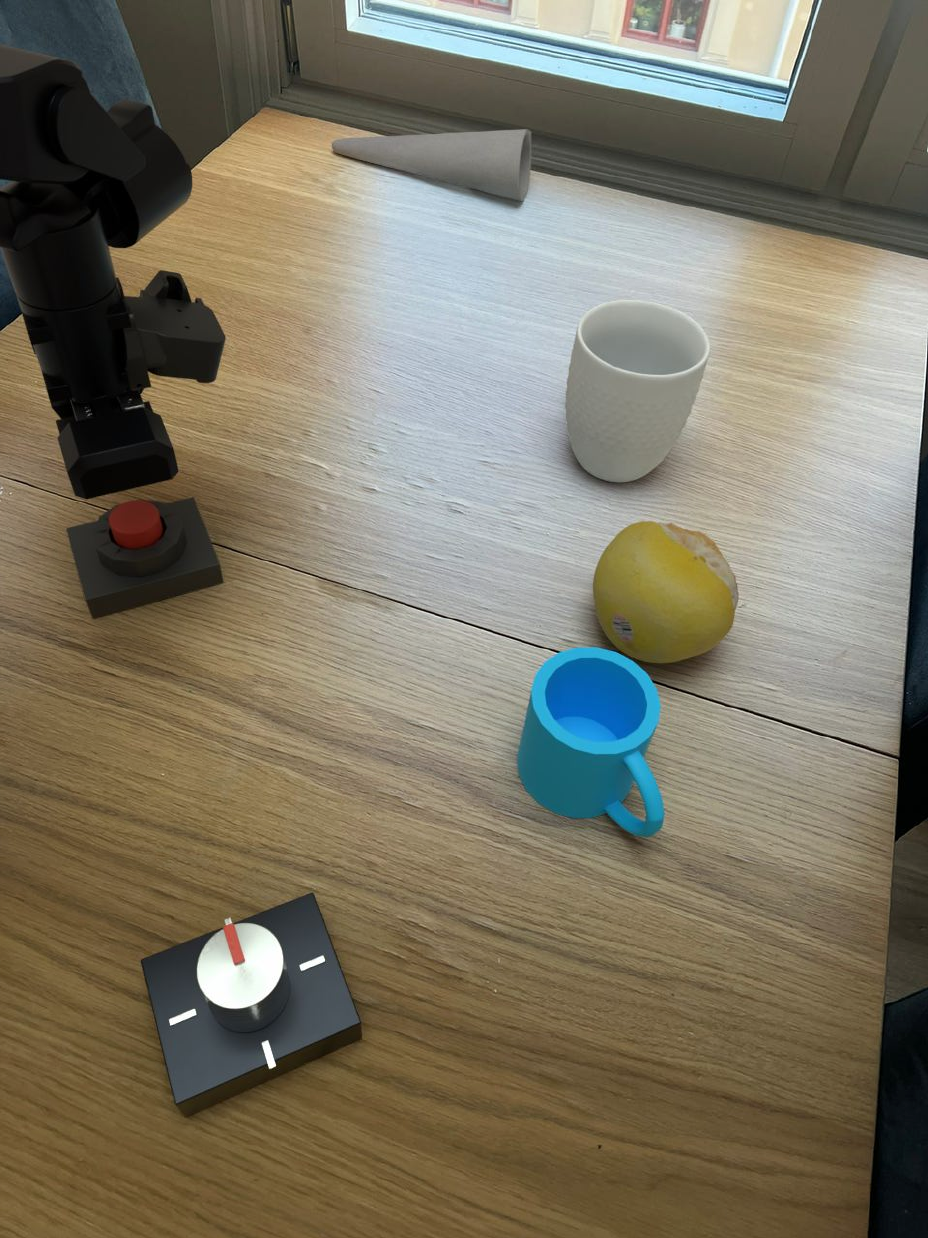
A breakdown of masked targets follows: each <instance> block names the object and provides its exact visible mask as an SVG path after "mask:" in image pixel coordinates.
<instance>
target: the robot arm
mask: <svg viewBox="0 0 928 1238" xmlns="http://www.w3.org/2000/svg"><path fill="white" fill-rule="evenodd" d="M0 180H3V181H10V182H8V183H6V184H5V185H4V186H2V187H0V251H1V254H2V258H3V261H4V263H5V266H6V269H7V272H8V275H9V278H10V280H11V284H12V287H13V290H14V293H15V296H16V299H17V301H18V305H19V308H20V311H21V314H22V319H23V323H24V325H25V329H26V333H27V337H28V339H29V342H30V346H31V348H32V351H33V353H34V355H35V356H36V358H37V362H38V365H39V368H40V371H41V374H42V378H43V381H44V385H45V389H46V393H47V396H48V400H49V403H50V407H51V408H52V410H53V411H54V412H55V414H56V415H57V416H58V417H59V419H56V420H55V424H56V429H57V431H58V436H57V437H56V439H57V442H58V446H59V449H60V452H61V453H60V454H61V456H62V460H63V463H64V466H65V467H64V468H65V470H66V473H67V476H68V480H69V482H70V486H71V488H72V491H73V494H74V497H78V498H81V499H83V500H90V499H95V498H100V497H104V496H109V495H112V494H116V493H120V492H124V491H125V492H126V491H129V490H134V489H137V488H138V489H139V488H142V487H146V486H150V485H155V484H160V483H164V482H167V481H171V480H174V478H175V477H176V476H177V475H178V473H179V472H180V471H179V466H178V461H177V456H176V452H175V448H174V446H173V443H172V441H171V438H170V436H169V433H168V430H167V428H166V425H165V422H164V420H163V417H162V416H161V415H160V414H159V413H156V412H154V410H153V407H152V405H151V402H150V401H149V400H146V401H144V399H143V396H142V395H141V394H143V392H144V390H145V389H148V388H152V384H151V379H150V375H149V374H151V375H154V376H158V377H165V378H174V379H175V378H176V379H185V380H193V381H194V380H195V381H196V382H197V383H200V384H211V383H214V382H215V381H216V380H217V377H218V372H219V368H220V364H221V360H222V356H223V351H224V348H225V344H226V340H227V337H226V334H225V332H224V330H223V328H222V326H221V325H220V322H219V320H218V318H217V316H216V314H215V312H214V311H213V310H212V308H211V307H209V306H207V305H205V303H204V301H203V300H202V299H203V298H201V297H195V299H194V301H192V298H191V295H190V292H189V289H188V286H187V284H186V282H185V280H184V278H183V276H182V274H181V273H180V272H175V271H168V270H162V269H160V270H158V271H157V273H156V274H155V275H154V276H153V277H152V279H151V280H150V281H149V283H148V284H147V285H146V286H145V288H144V289H140V291H139V296H130V295H125V292H124V288H123V285H122V282H121V281H120V277H117V275H116V271H115V267H114V263H113V258H112V255H111V254H112V253H111V251H110V248H113V249H128V248H131V247H133V246H135V245H136V244H138V242H140V241H141V240H142V239H143V238H145V236H148V234H150V233H151V232H152V231H153V230H154V229H156V228H157V227H158V226H160V225H161V224H162V223H163V222H164V221H165V220H166V219H168V218H170V217H171V215H173V214H174V213H175V212H177V211H178V210H180V208H182V207H183V206H184V205H185V204H186V203H187V202H188V201H189V199H190V198H191V194H192V190H193V173H192V168H191V166H190V165H189V163H188V162H187V161H186V158H185V156H184V154H183V152H182V151H181V150H180V148H179V145H177V143H176V142H175V141H174V139H172V138H171V136H170V135H169V134H168V133H167V132H166V131H164V129H162V128H161V127H160V126H158V125H156V122H155V117H154V110H153V107H152V106H151V105H150V104H146V103H142V102H138V101H134V100H129V99H126V98H122V99H120V100H118V101H117V102H115V103H113V104H112V105H111V106H110V107H109V109H107V111H106V110H105V108H104V107H103V106H102V104H100V103H99V101H98V100H97V99H96V98H95V97H94V96H93V94H92V93H91V91H90V87H89V85H88V83H87V80H86V79H85V78H84V76H83V71H82V69H81V67H80V66H79V65H78V64H76V63H75V62H74V61H72V60H68V59H64V58H59V57H56V56H52V55H51V56H50V55H47V54H42V53H38V52H36V51H35V52H34V51H30V50H27V49H22V48H17V47H13V46H9V45H5V44H1V43H0Z"/></svg>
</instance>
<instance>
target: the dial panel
mask: <svg viewBox="0 0 928 1238" xmlns="http://www.w3.org/2000/svg"><path fill="white" fill-rule="evenodd" d="M223 921H224V924H225V926H226V925H228V924H231V923H234V924H238V923H253V924H257V925H260V926H263V927H265V928H266V929H268V930H269V931H271V932H272V933H273V934H274V935H275V936H276V938H277V939H278V941H279V942H280V944H281V947H282V950H283V954H284V958H285V962H286V967H287V971H288V975H289V980H290V992H289V997H288V1000H287V1003H286V1005H285V1007H284V1009H283V1010H282V1012H281V1013H280V1015H279V1016H278V1017H277V1018H276V1019H275V1020H274V1021H273V1022H271V1023H270V1024H269V1025H267V1026H265V1027H263V1028H261V1029H259V1030H256V1031H252V1032H236V1031H232V1030H229V1029H227V1028H225V1027H223V1026H222V1025H221V1024H220V1023H219V1022H218V1021H217V1020H216V1019H215V1018H214V1017H213V1015H212V1013H211V1011H210V1009H209V1007H208V1005H207V1002H206V1000H205V998H204V996H203V994H202V992H201V990H200V987H199V985H198V981H197V975H196V969H197V962H198V958H199V955H200V953H201V951H202V949H203V947H204V946H205V944H206V943H207V942H208V940H209V939H210V938H211V937H212V936H213V935H215V934H216V933H217V932H219V931H220V930H222V929H223V927H220V928H217V929H215V930H212V931H210V932H208V933H205V934H202V935H200V936H197V937H194V938H192V939H190V940H187V941H185V942H182V943H179V944H176V945H173V946H172V947H171V946H170V947H169V948H167V949H164V950H161V951H159V952H157V953H153V954H151V955H148V956H146V957H143V958H141V959H140V964H141V968H142V972H143V973H142V974H143V978H144V981H145V985H146V990H147V993H148V994H147V995H148V998H149V1002H150V1007H151V1010H152V1014H153V1018H154V1023H155V1027H156V1031H157V1035H158V1039H159V1045H160V1047H161V1048H160V1049H161V1052H162V1056H163V1061H164V1064H165V1069H166V1072H167V1076H168V1082H169V1085H170V1089H171V1093H172V1098H173V1102H174V1105H175V1106H176V1108H177V1109H178V1110H179V1112H180V1113H181V1114H182V1116H183V1117H184V1118H188V1117H190V1116H193V1115H195V1114H197V1113H200V1112H203V1111H204V1110H206V1109H209V1108H210V1107H213V1106H215V1105H218V1104H219V1103H221V1102H224V1101H227V1100H229V1099H230V1098H233V1097H235V1096H237V1095H239V1094H242V1093H244V1092H246V1091H248V1090H251V1089H253V1088H255V1087H257V1086H259V1085H261V1084H264V1083H266V1082H268V1081H270V1080H273V1079H276V1078H277V1077H279V1076H281V1075H284V1074H286V1073H288V1072H290V1071H293V1070H295V1069H297V1068H300V1067H302V1066H304V1065H306V1064H308V1063H310V1062H312V1061H315V1060H317V1059H319V1058H321V1057H324V1056H326V1055H329V1054H330V1053H333V1052H335V1051H337V1050H339V1049H342V1048H344V1047H346V1046H348V1045H350V1044H351V1045H352V1043H353V1044H354V1043H355V1042H358V1041H359V1040H362V1038H363V1030H362V1021H361V1018H360V1014H359V1013H358V1010H357V1007H356V1004H355V1001H354V999H353V996H352V993H351V991H350V988H349V986H348V982H347V980H346V977H345V974H344V971H343V969H342V966H341V964H340V960H339V958H338V955H337V952H336V950H335V948H334V944H333V942H332V938H331V936H330V933H329V931H328V928H327V925H326V923H325V920H324V917H323V915H322V912H321V909H320V906H319V904H318V900H317V898H316V896H315V892H310V893H307V894H305V895H302V896H299V897H297V898H295V899H291V900H289V901H286V902H284V903H282V904H279V905H276V906H274V907H271V908H269V909H266V910H264V911H261V912H259V913H256V914H253V915H251V916H249V917H246V918H242V919H240V920H238V921H235V922H233V921H232V918H231V917H228V918H225V919H224V920H223Z"/></svg>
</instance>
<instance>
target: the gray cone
mask: <svg viewBox="0 0 928 1238" xmlns="http://www.w3.org/2000/svg"><path fill="white" fill-rule="evenodd" d="M331 149H332V151H333V152H334V153H336V154H339V155H342V156H346V157H349V158H352V159H356V160H360V161H364V162H366V163H371V164H375V165H377V166H378V165H379V166H383V167H386V168H391V169H394V170H398V171H402V172H407V173H409V174H410V173H411V174H414V175H418V176H422V177H425V178H430V179H433V180H436V181H441V182H445V183H449V184H452V185H457V186H460V187H465V188H468V189H473V190H477V191H480V192H483V193H484V192H485V193H488V194H490V195H495V196H498V197H503V198H507V199H511V200H515V201H519V202H523V201H525V199H526V197H527V196H526V195H527V192H528V189H529V182H530V176H531V169H532V131H531V130H529V129H528V128H527V129H526V128H525V129H524V128H522V129H502V130H501V129H500V130H488V131H486V130H485V131H467V132H466V131H465V132H464V131H463V132H443V133H442V132H441V133H426V134H406V135H405V134H403V135H402V134H401V135H383V136H382V135H381V136H366V137H344V138H339V139H335V140H333V141H332V142H331Z"/></svg>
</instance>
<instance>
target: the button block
mask: <svg viewBox="0 0 928 1238" xmlns="http://www.w3.org/2000/svg"><path fill="white" fill-rule="evenodd" d="M139 500H142V501H146V502H149V503H151V504H153V505H154V506H155V507H156V508H157V509H158V512H159V516H160V520H161V524H162V527H163V533H162V536H161V538H160V539H159V540H158V541H157V542H156V543H154V544H153V545H152V546H148V547H145V548H141V549H137V550H132V549H125V548H123V547H121V546H120V545H118V544H117V543H116V541H115V539H114V536H113V533H112V530H111V527H110V524H109V516H110V514H111V512H112V511H113V510H114V509H115V508H116V507H117V506H119V505H120V504H121V503H118V504H115V505H114V506H112V507H111V508H110V509H109V510H107V511H105V512H104V513H103V514H101V515H100V516H99V517H98V519H97V520H94V521H90V522H86V523H81V524H78V525H73V526H69V527H66V528H65V529H66V533H67V536H68V540H69V544H70V549H71V552H72V555H73V560H74V563H75V566H76V571H77V574H78V578H79V582H80V586H81V589H82V593H83V597H84V600H85V603H86V606H87V608H88V611H89V614H90V616H91V618H92V619H93V620H95V619H97V618H100V617H104V616H107V615H111V614H115V613H119V612H123V611H127V610H130V609H134V608H136V607H141V606H144V605H148V604H152V603H155V602H158V601H162V600H166V599H170V598H173V597H177V596H181V595H185V594H187V593H192V592H196V591H199V590H203V589H207V588H210V587H213V586H216V585H220V584H224V577H223V572H222V568H221V563H220V561H219V558H218V555H217V553H216V550H215V548H214V545H213V543H212V541H211V537H210V535H209V532H208V530H207V527H206V525H205V522H204V520H203V517H202V515H201V512H200V510H199V507H198V505H197V502H196V500H195V497H194V496H193V497H188V498H184V499H180V500H176V501H172V502H167V503H165V502H163V501H158V500H151V499H141V498H140V499H139Z"/></svg>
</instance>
